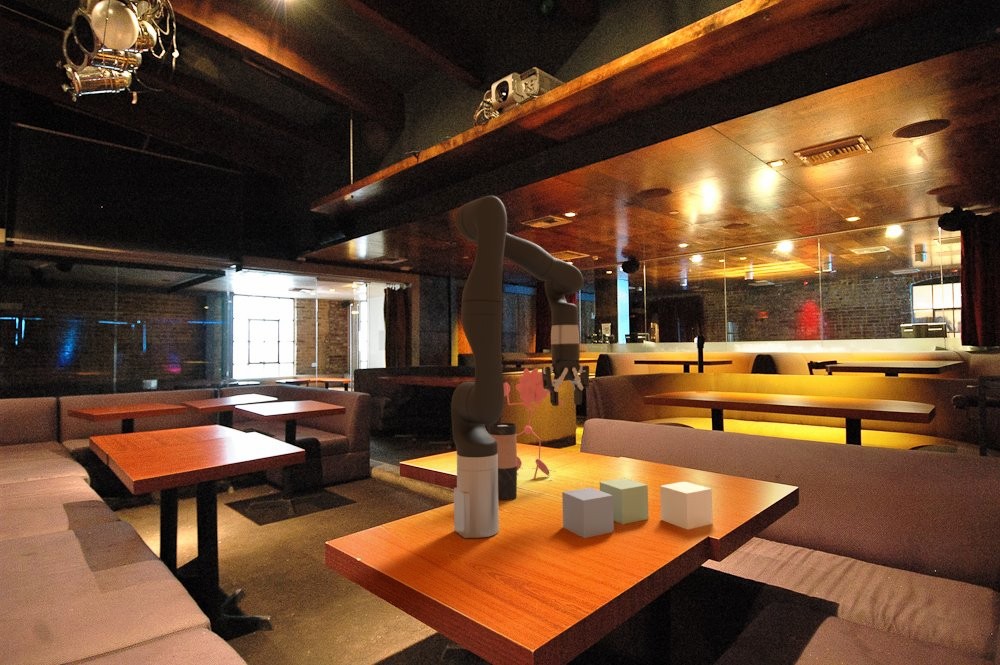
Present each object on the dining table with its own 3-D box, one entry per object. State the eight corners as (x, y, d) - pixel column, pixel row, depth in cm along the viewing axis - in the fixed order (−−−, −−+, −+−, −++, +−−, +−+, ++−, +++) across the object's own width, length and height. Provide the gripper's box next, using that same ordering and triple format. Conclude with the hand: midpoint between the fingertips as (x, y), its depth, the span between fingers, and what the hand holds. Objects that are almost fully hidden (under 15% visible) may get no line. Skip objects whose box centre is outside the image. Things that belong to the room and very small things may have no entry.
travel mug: (521, 498, 140) (520, 425, 141) (495, 502, 137) (494, 427, 138) (511, 492, 147) (509, 422, 148) (486, 495, 145) (485, 423, 145)
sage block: (622, 524, 118) (621, 489, 119) (600, 515, 125) (599, 482, 126) (648, 519, 122) (647, 484, 122) (625, 510, 129) (624, 478, 129)
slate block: (584, 538, 110) (583, 500, 110) (563, 527, 117) (562, 492, 117) (613, 532, 113) (612, 495, 114) (591, 522, 120) (590, 487, 121)
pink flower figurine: (555, 483, 156) (554, 368, 159) (489, 473, 172) (489, 368, 174) (580, 475, 168) (578, 368, 171) (516, 466, 184) (516, 368, 186)
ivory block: (687, 530, 114) (686, 493, 114) (661, 520, 121) (660, 485, 121) (712, 524, 118) (711, 488, 118) (685, 514, 125) (684, 481, 125)
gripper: (550, 342, 131) (551, 408, 130) (595, 342, 137) (597, 404, 137) (534, 343, 137) (536, 405, 137) (578, 342, 144) (580, 402, 143)
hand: (566, 404), depth 137 cm, fingers open, 6 cm apart
